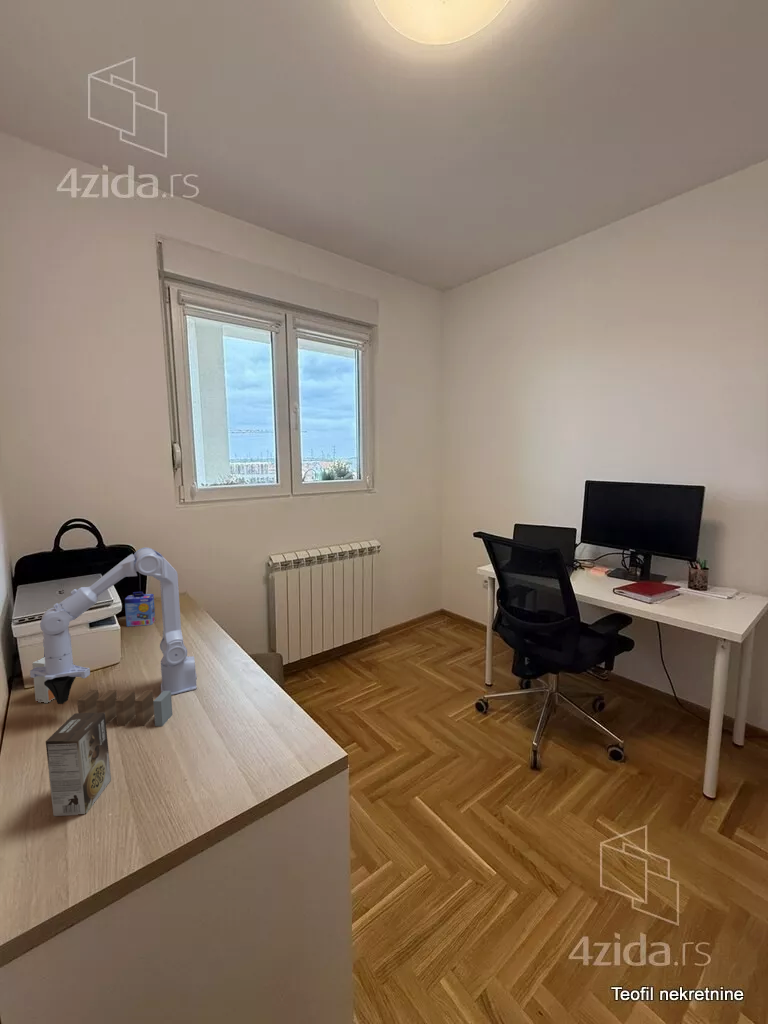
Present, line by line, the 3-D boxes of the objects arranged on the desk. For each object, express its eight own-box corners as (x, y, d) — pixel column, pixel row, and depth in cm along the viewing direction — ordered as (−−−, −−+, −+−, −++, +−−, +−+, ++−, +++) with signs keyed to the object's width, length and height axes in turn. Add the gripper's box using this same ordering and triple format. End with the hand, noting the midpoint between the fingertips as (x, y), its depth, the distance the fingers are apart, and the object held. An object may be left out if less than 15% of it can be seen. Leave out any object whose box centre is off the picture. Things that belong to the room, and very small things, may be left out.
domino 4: (136, 725, 109) (134, 700, 108) (147, 714, 114) (145, 690, 113) (143, 726, 109) (141, 700, 108) (154, 714, 114) (152, 690, 113)
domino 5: (155, 726, 109) (153, 701, 108) (165, 714, 114) (163, 690, 113) (162, 726, 109) (161, 701, 108) (172, 714, 114) (171, 690, 113)
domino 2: (98, 725, 109) (96, 700, 108) (110, 713, 114) (108, 689, 113) (105, 725, 109) (103, 700, 108) (118, 713, 114) (116, 690, 113)
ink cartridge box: (125, 627, 173) (123, 593, 171) (130, 622, 178) (128, 589, 176) (151, 625, 175) (149, 591, 173) (155, 620, 180) (153, 588, 179)
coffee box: (81, 781, 90) (74, 712, 88) (112, 780, 91) (106, 710, 89) (51, 817, 81) (43, 741, 79) (86, 815, 82) (79, 739, 80)
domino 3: (117, 725, 109) (115, 700, 108) (129, 714, 114) (127, 690, 113) (124, 725, 109) (122, 700, 108) (136, 714, 114) (134, 690, 113)
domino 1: (79, 725, 109) (77, 700, 108) (92, 713, 114) (90, 689, 113) (86, 725, 109) (84, 700, 108) (100, 713, 114) (98, 689, 113)
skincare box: (47, 704, 118) (43, 664, 117) (35, 702, 119) (31, 662, 118) (67, 692, 124) (63, 654, 123) (55, 690, 125) (52, 653, 124)
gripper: (17, 660, 105) (23, 710, 107) (74, 661, 105) (78, 711, 107) (40, 648, 112) (45, 695, 114) (93, 648, 112) (97, 695, 114)
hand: (63, 701), depth 111 cm, fingers closed
